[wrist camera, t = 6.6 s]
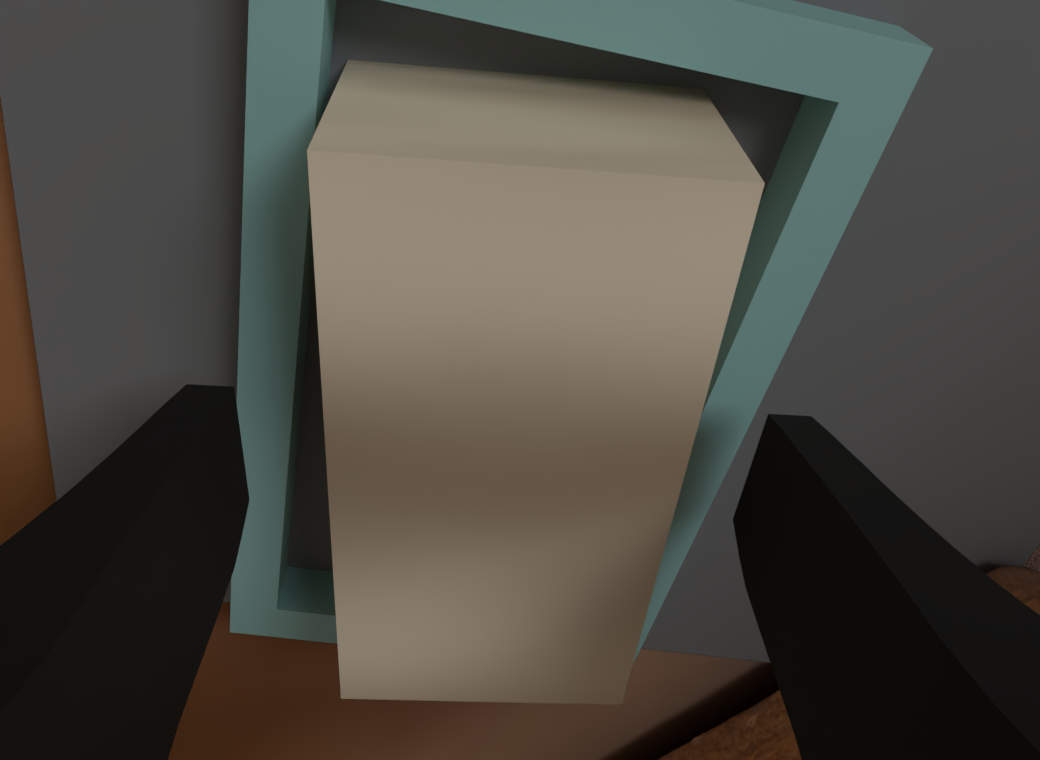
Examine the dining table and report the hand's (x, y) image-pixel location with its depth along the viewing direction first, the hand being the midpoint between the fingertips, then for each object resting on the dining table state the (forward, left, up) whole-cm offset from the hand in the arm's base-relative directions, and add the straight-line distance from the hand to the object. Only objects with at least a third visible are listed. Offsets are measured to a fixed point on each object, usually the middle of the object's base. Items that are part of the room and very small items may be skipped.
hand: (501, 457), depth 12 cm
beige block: (0, 0, -2) cm, 2 cm away
